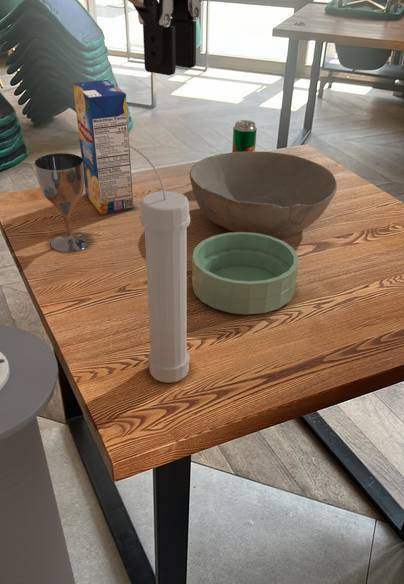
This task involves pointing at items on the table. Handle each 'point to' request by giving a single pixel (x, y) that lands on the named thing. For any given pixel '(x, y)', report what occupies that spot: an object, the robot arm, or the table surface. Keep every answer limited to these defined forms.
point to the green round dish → (244, 272)
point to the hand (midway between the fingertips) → (170, 67)
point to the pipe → (166, 281)
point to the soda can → (244, 136)
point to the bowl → (262, 191)
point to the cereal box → (104, 144)
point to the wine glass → (63, 193)
